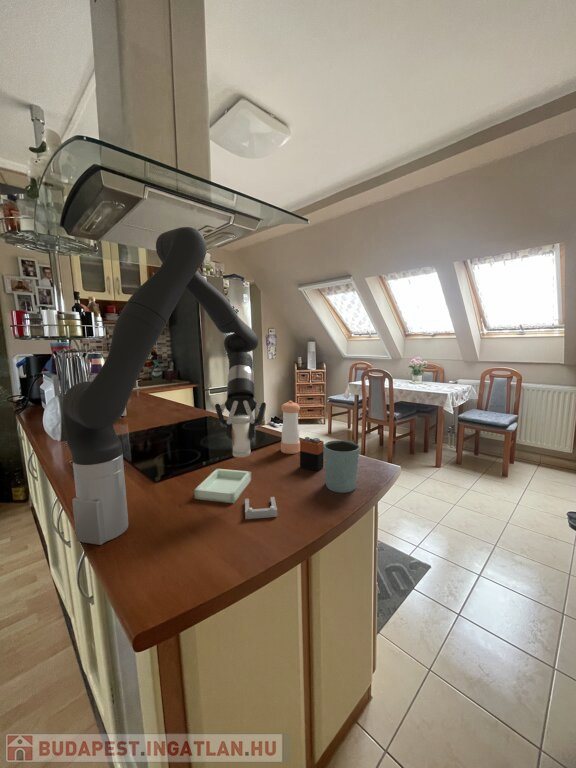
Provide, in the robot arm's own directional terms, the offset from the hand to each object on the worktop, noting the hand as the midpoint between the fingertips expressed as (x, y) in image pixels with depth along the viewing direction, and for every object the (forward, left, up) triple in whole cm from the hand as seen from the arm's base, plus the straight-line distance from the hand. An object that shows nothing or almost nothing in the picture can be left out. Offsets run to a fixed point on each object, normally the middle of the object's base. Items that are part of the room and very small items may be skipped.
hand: (240, 439), depth 80 cm
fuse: (+2, +1, -5) cm, 5 cm away
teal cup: (+15, -24, -17) cm, 34 cm away
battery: (+26, -14, -17) cm, 35 cm away
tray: (+6, +8, -17) cm, 20 cm away
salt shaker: (+40, -4, -17) cm, 44 cm away
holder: (-2, -5, -17) cm, 18 cm away
